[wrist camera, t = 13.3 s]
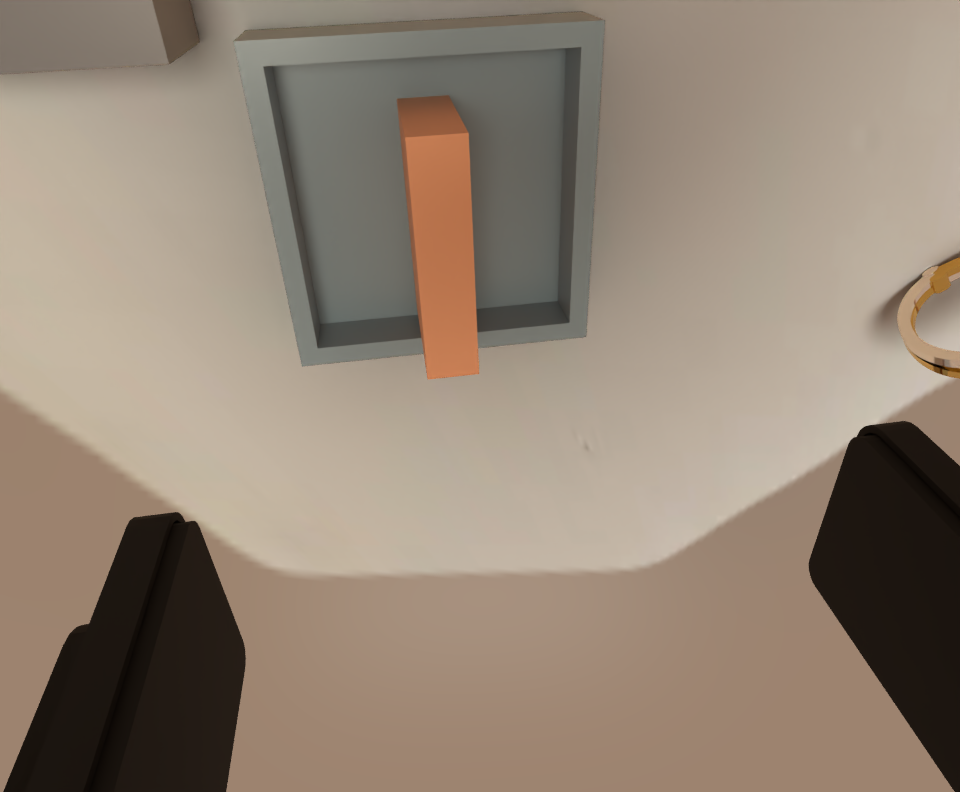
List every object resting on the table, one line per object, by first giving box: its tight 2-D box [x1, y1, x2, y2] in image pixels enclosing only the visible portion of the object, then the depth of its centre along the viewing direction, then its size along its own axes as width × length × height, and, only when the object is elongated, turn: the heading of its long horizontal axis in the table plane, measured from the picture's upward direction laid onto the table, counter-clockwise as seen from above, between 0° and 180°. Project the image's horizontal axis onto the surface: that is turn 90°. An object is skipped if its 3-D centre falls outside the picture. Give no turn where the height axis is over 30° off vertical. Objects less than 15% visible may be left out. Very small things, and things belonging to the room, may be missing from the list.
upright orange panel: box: [397, 95, 479, 379], centre depth 27 cm, size 2×6×9 cm
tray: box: [233, 12, 605, 366], centre depth 28 cm, size 13×13×3 cm
